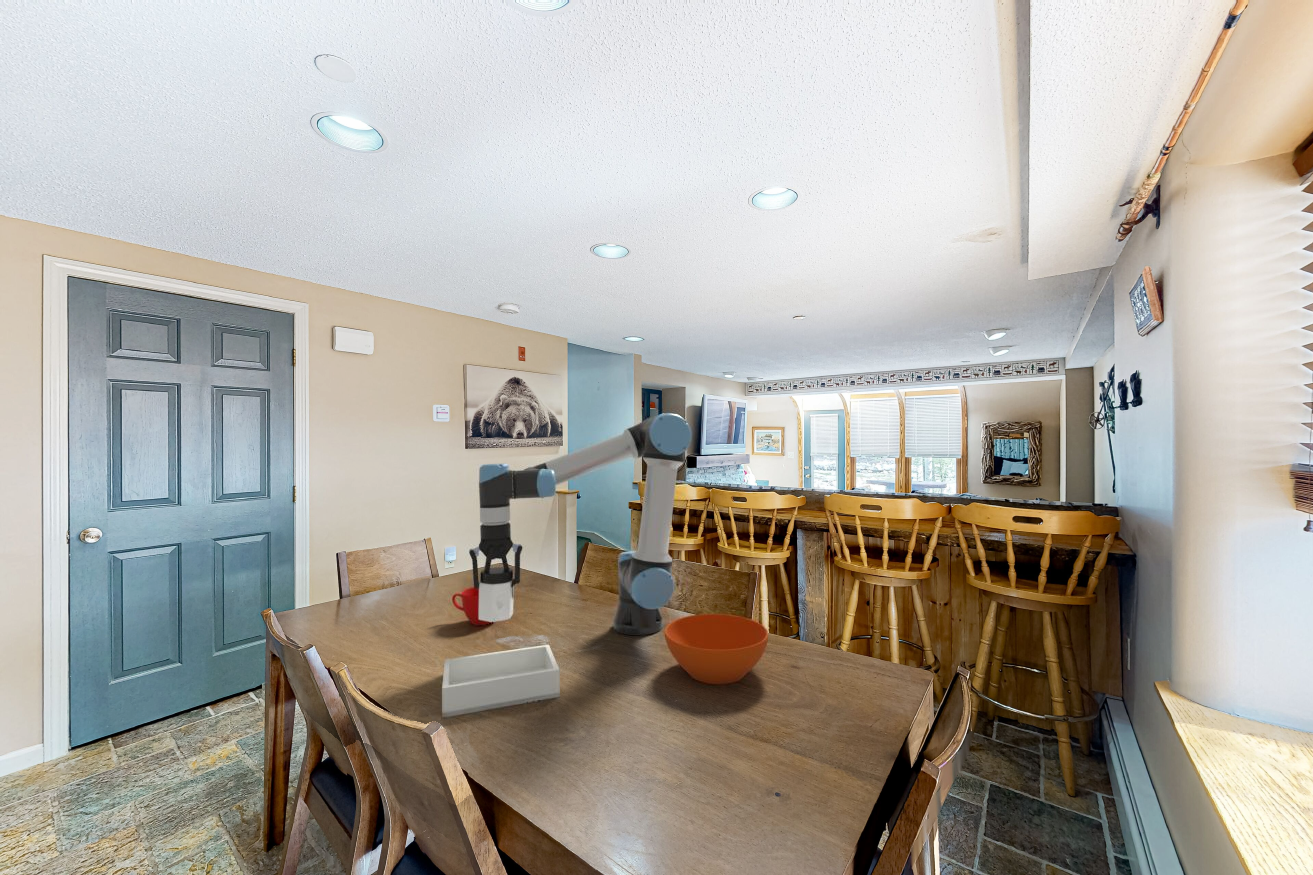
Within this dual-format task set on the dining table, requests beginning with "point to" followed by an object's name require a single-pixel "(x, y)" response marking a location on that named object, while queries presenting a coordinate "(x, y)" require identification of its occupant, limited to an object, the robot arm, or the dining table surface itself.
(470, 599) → the ceramic cup
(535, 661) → the bin
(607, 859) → the dining table surface
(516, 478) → the robot arm
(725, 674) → the bowl
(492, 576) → the jar
